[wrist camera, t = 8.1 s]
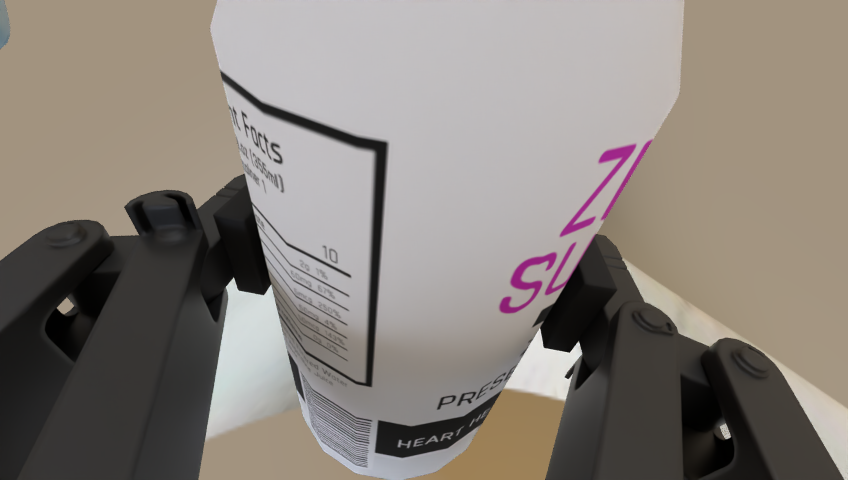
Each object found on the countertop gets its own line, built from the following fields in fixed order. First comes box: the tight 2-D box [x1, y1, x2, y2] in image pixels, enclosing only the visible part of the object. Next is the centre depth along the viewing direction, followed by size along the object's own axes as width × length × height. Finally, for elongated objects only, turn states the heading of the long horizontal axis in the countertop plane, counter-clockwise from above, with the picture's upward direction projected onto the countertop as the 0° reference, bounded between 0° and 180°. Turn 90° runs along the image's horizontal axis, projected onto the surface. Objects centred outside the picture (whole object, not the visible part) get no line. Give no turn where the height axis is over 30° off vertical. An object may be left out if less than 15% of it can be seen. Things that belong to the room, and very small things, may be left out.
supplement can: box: [210, 0, 684, 480], centre depth 10 cm, size 8×8×15 cm
